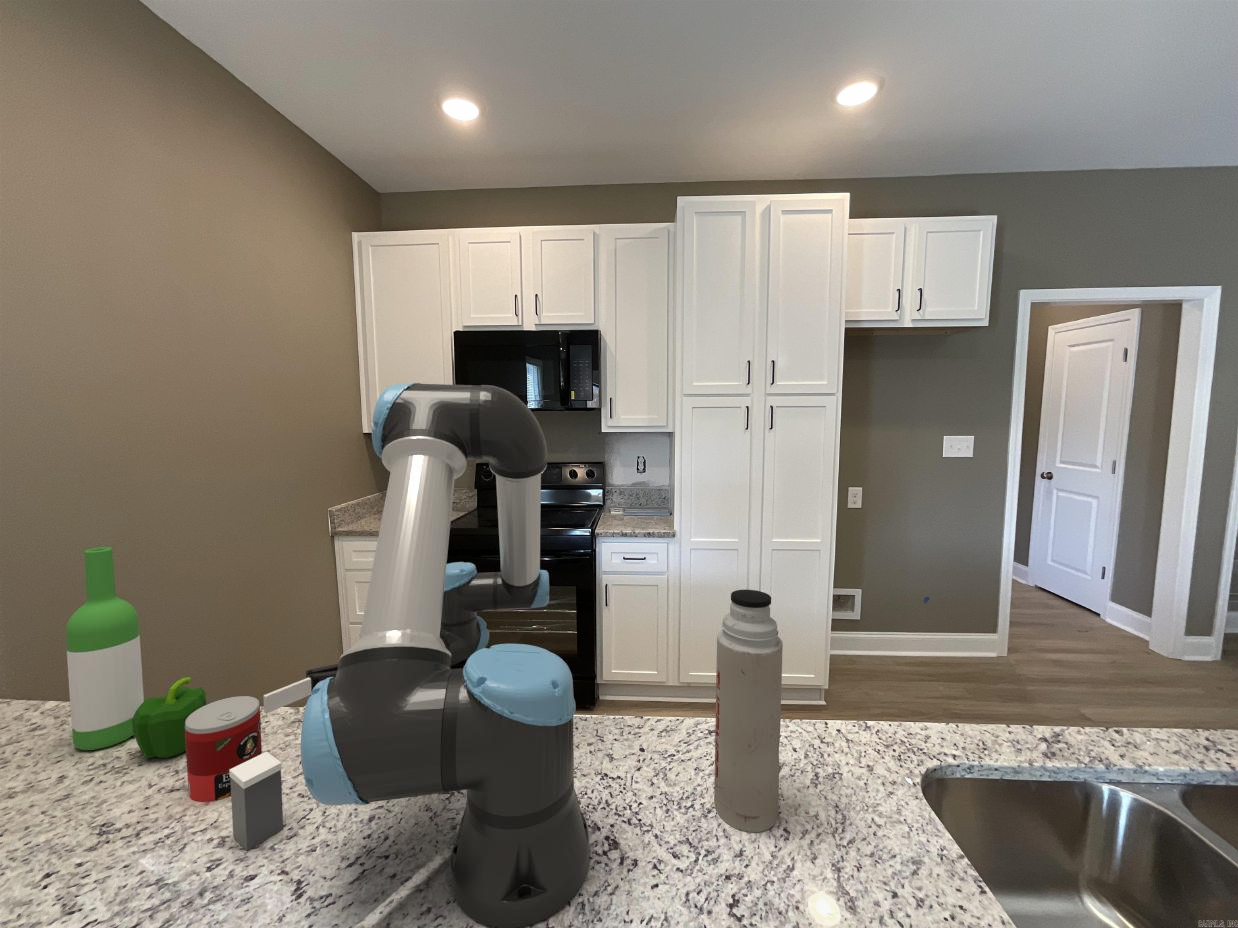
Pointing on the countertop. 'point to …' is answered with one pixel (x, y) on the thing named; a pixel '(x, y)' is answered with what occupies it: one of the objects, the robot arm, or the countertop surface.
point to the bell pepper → (166, 720)
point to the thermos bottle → (748, 714)
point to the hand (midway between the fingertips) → (285, 718)
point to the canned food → (220, 744)
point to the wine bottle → (103, 659)
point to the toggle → (256, 800)
